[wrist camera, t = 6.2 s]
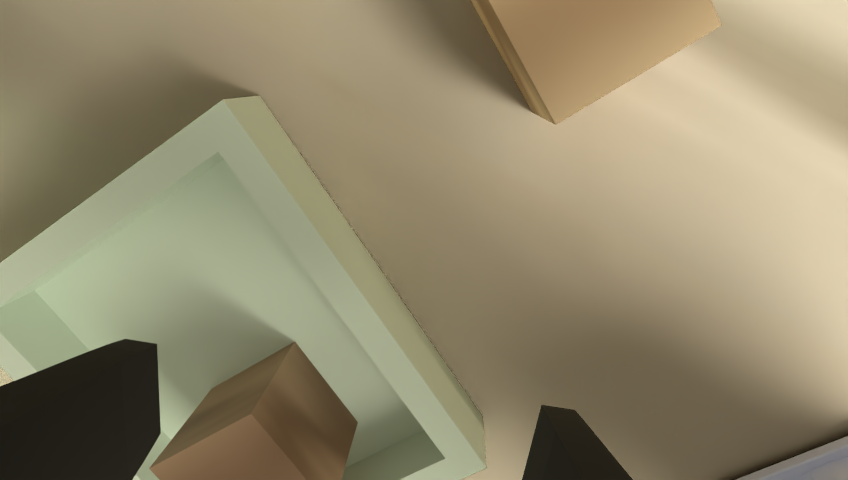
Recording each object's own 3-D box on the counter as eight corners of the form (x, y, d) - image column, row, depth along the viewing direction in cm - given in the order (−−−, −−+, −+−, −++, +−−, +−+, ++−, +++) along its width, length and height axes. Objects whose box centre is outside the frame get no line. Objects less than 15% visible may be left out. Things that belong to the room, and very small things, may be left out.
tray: (482, 417, 19) (486, 468, 17) (244, 529, 22) (216, 587, 19) (259, 95, 16) (222, 99, 13) (10, 275, 18) (-59, 306, 16)
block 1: (357, 422, 19) (332, 510, 15) (275, 463, 20) (232, 556, 16) (294, 341, 18) (250, 413, 14) (211, 388, 19) (149, 468, 15)
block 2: (653, 37, 15) (721, 25, 11) (532, 112, 15) (555, 124, 12) (591, -95, 14) (643, -160, 10) (466, -8, 14) (468, -37, 11)
